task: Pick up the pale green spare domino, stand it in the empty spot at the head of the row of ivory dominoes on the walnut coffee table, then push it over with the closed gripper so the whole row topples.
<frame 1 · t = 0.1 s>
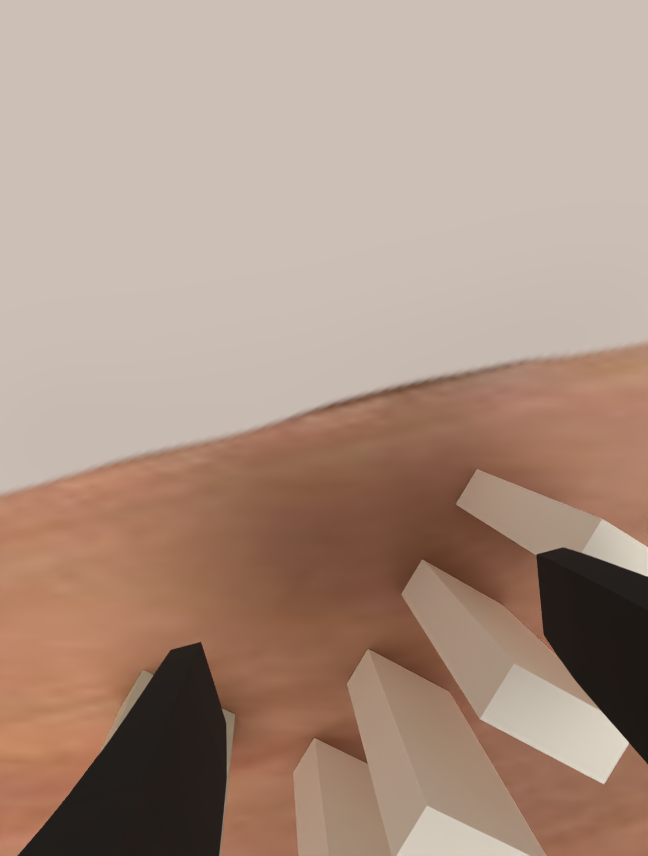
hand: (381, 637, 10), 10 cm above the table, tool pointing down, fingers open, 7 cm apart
domino 2: (345, 775, 22), on the table
domino 5: (506, 511, 21), on the table
domino 3: (398, 687, 21), on the table
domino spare: (179, 710, 20), on the table
domino 4: (452, 599, 21), on the table
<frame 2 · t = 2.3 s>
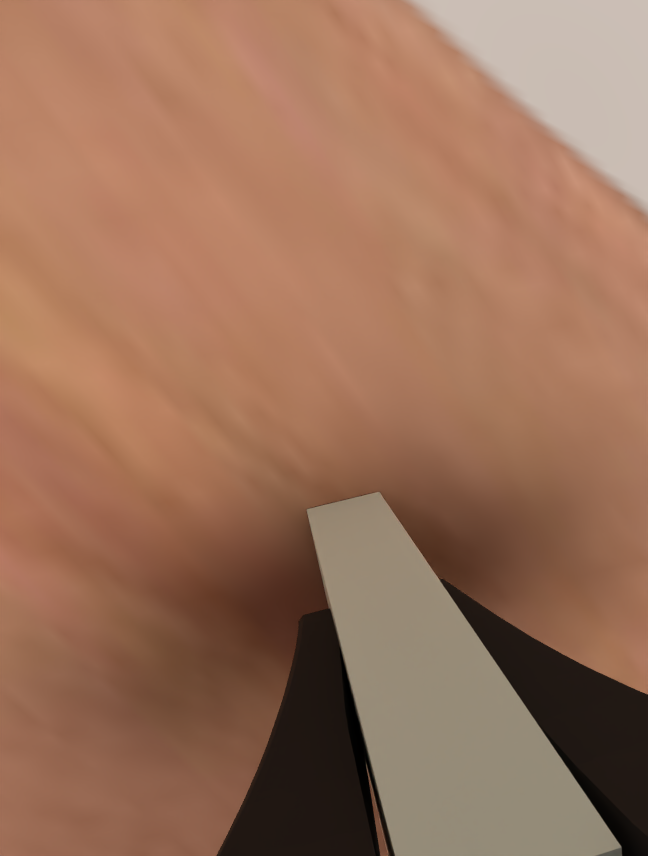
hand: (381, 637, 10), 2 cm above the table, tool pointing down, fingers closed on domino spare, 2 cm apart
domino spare: (359, 579, 12), on the table, touching gripper
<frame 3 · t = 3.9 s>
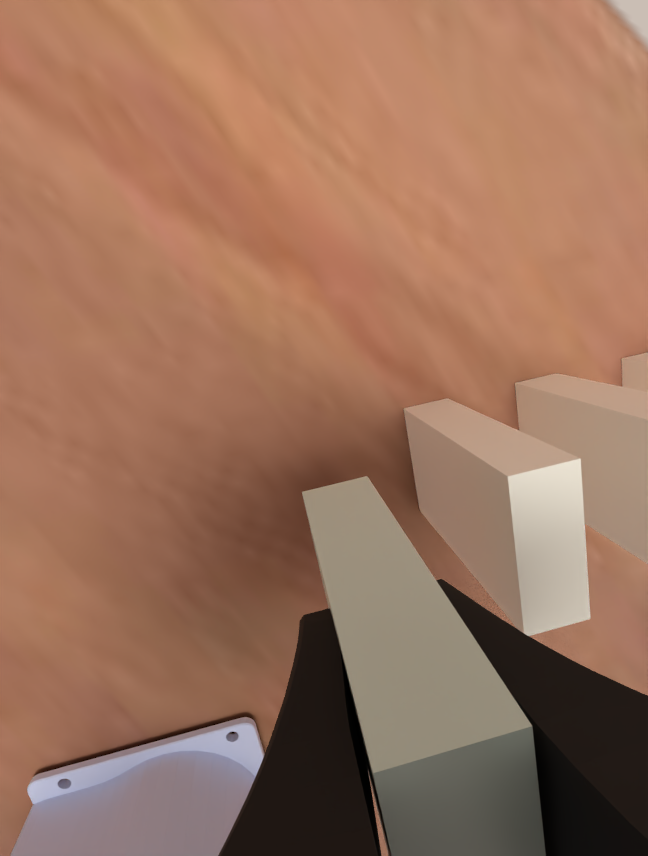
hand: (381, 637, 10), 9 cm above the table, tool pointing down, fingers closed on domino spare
domino 2: (433, 455, 19), on the table
domino 3: (540, 430, 20), on the table
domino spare: (349, 555, 13), point 6 cm above the table, touching gripper
domino 4: (643, 405, 20), on the table
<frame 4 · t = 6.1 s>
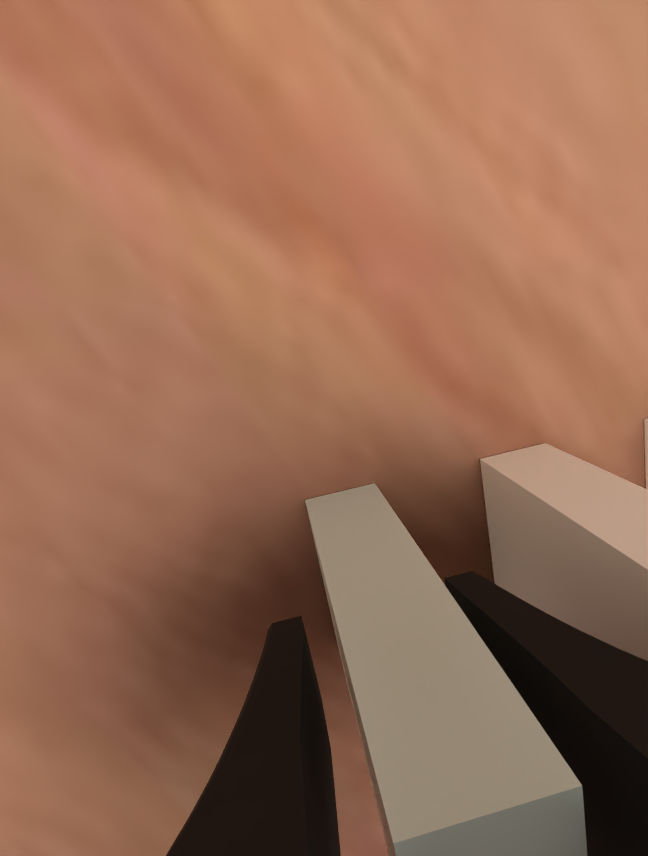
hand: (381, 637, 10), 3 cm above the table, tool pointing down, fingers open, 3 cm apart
domino 2: (520, 527, 13), on the table, touching gripper
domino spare: (355, 568, 13), on the table
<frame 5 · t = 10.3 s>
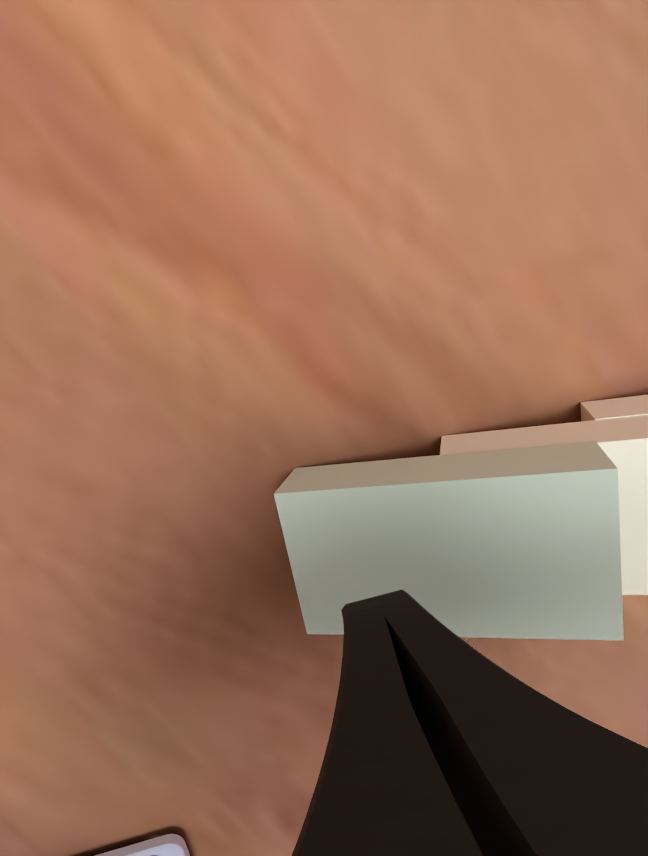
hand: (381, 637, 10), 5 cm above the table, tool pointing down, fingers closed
domino 2: (450, 514, 14), point 1 cm above the table, tilted 67°, touching domino 3, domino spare
domino 3: (591, 478, 15), point 1 cm above the table, tilted 67°, touching domino 2
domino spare: (300, 549, 14), point 1 cm above the table, tilted 67°, touching domino 2
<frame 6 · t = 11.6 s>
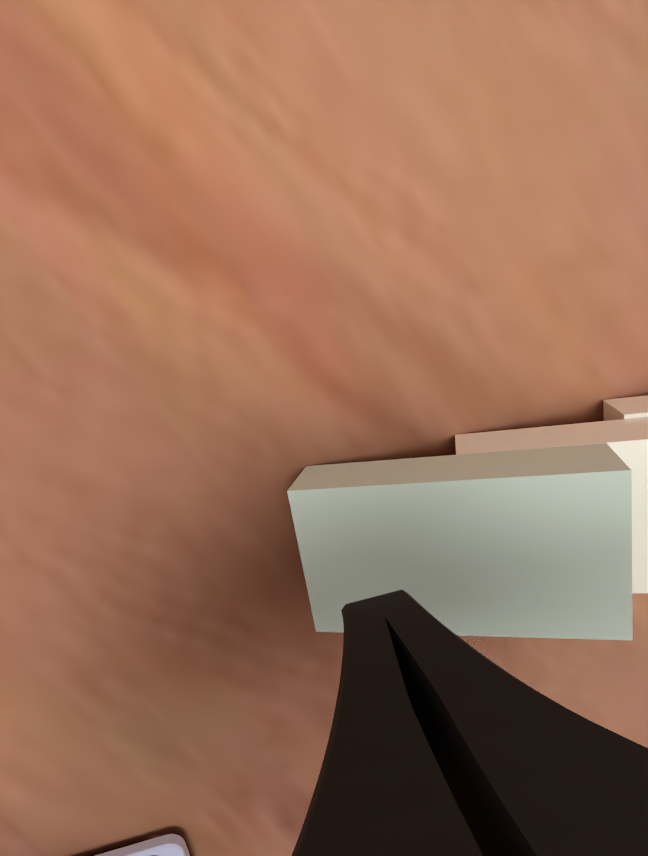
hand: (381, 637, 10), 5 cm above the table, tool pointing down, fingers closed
domino 2: (462, 513, 15), point 1 cm above the table, tilted 68°, touching domino 3, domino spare
domino 3: (613, 475, 15), point 1 cm above the table, tilted 69°, touching domino 2, domino 4
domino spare: (310, 547, 14), point 1 cm above the table, tilted 68°, touching domino 2
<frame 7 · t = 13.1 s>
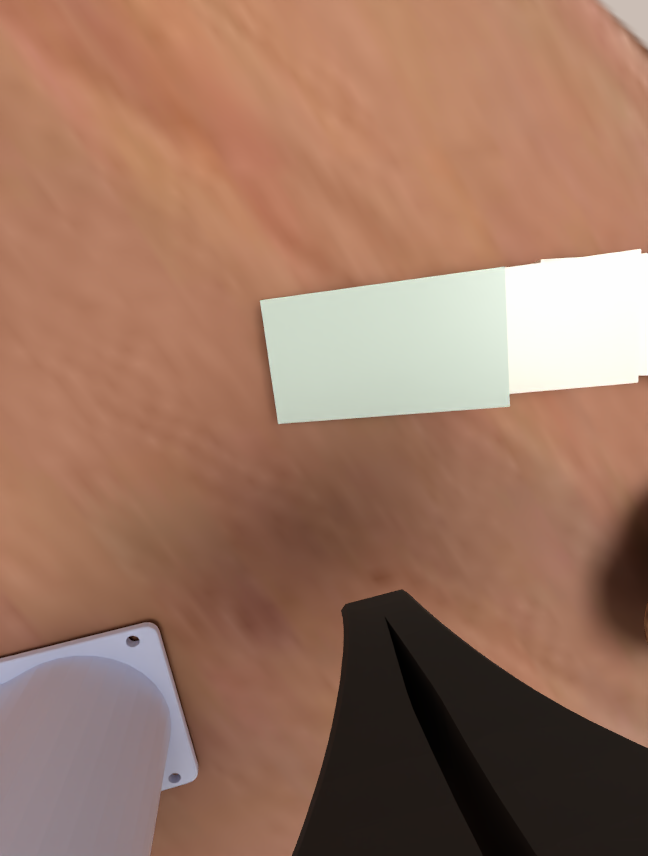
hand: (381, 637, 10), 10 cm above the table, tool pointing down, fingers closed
domino 2: (400, 342, 19), point 1 cm above the table, tilted 70°, touching domino 3, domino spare
domino 3: (531, 319, 19), point 1 cm above the table, tilted 70°, touching domino 2, domino 4
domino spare: (276, 361, 18), point 1 cm above the table, tilted 68°, touching domino 2
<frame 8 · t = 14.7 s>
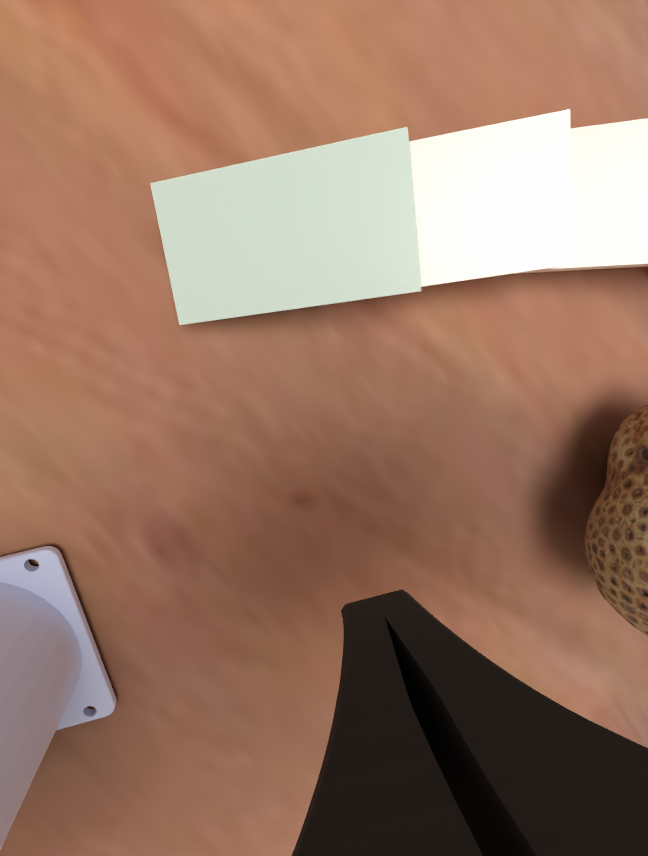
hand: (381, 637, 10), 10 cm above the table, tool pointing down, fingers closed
domino 2: (320, 236, 17), point 1 cm above the table, tilted 72°, touching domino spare
domino 3: (499, 211, 18), point 1 cm above the table, tilted 65°
natural sponge: (614, 486, 23), on the table
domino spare: (178, 258, 17), point 1 cm above the table, tilted 69°, touching domino 2
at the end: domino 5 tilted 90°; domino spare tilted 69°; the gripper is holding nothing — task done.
